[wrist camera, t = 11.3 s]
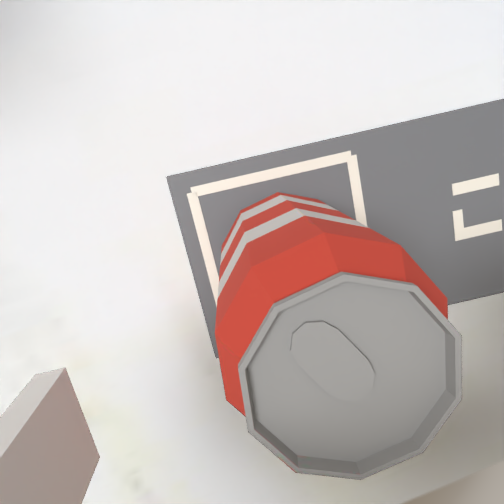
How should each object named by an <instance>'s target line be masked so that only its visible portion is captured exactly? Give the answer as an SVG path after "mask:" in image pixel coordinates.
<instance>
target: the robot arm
mask: <svg viewBox="0 0 504 504" xmlns="http://www.w3.org/2000/svg"><path fill="white" fill-rule="evenodd" d="M99 458H100V456H99V454H98V451H97V448H96V446H95V443H94V441H93V438H92V435H91V433H90V430H89V428H88V425H87V422H86V420H85V417H84V415H83V412H82V410H81V407H80V404H79V402H78V399H77V397H76V394H75V391H74V389H73V386H72V384H71V381H70V378H69V376H68V373H67V371H66V368H61V369H57V370H53V371H49V372H44V373H40V374H36V375H35V376H34V377H33V378H32V379H31V380H30V382H29V383H28V384H27V385H26V386H25V388H24V389H23V390H22V391H21V392H20V394H19V395H18V396H17V397H16V398H15V400H14V401H13V402H12V403H11V405H10V406H9V407H8V408H7V409H6V411H5V412H4V413H3V414H2V415H1V417H0V504H82V501H83V499H84V496H85V494H86V491H87V489H88V486H89V484H90V481H91V478H92V476H93V473H94V471H95V468H96V466H97V463H98V461H99Z"/></svg>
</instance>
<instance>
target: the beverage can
mask: <svg viewBox="0 0 504 504" xmlns="http://www.w3.org/2000/svg"><path fill="white" fill-rule="evenodd" d="M215 338H216V343H217V349H218V355H219V361H220V366H221V372H222V378H223V384H224V389H225V395H226V400H227V401H228V402H229V403H230V404H232V405H233V406H234V407H235V408H236V409H237V410H238V411H240V412H241V413H242V414H243V415H244V416H245V417H246V421H247V427H248V432H249V433H250V434H251V435H252V436H254V437H255V438H256V439H257V440H258V441H259V442H261V443H262V444H263V445H264V446H265V447H266V448H268V449H269V450H270V451H271V452H272V453H273V454H275V455H276V456H277V457H278V458H279V459H280V460H281V461H283V462H284V463H285V464H286V465H287V466H288V467H290V468H291V469H292V470H293V471H294V472H295V473H304V474H313V475H322V476H331V477H340V478H349V479H359V480H361V479H364V478H366V477H368V476H371V475H373V474H375V473H377V472H380V471H382V470H384V469H387V468H389V467H391V466H394V465H396V464H398V463H400V462H403V461H405V460H407V459H410V458H412V457H414V456H416V455H419V454H421V453H423V452H424V451H425V449H426V448H427V446H428V445H429V444H430V442H431V441H432V439H433V438H434V437H435V435H436V434H437V433H438V431H439V430H440V428H441V427H442V426H443V424H444V423H445V422H446V420H447V419H448V417H449V416H450V415H451V413H452V412H453V411H454V409H455V408H456V406H457V405H458V404H459V402H460V401H461V399H462V335H461V334H460V333H459V332H458V331H457V330H456V329H455V328H454V326H453V325H452V324H451V323H450V322H449V321H448V307H447V297H446V296H445V295H444V294H443V293H442V292H441V291H440V289H439V288H438V287H437V286H436V285H435V284H434V283H433V281H432V280H431V279H430V278H429V277H428V276H427V275H426V274H425V272H424V271H423V270H422V269H421V268H420V267H419V266H418V264H417V263H416V262H415V261H414V260H413V259H412V258H411V257H410V255H409V254H408V253H407V252H406V251H405V250H404V249H403V247H402V246H401V245H399V244H397V243H395V242H394V241H392V240H390V239H388V238H386V237H385V236H383V235H381V234H379V233H377V232H376V231H374V230H372V229H370V228H368V227H367V226H365V225H363V224H361V223H359V222H358V221H356V220H354V219H352V218H350V217H349V216H347V215H345V214H343V213H341V212H340V211H338V210H336V209H334V208H332V207H331V206H329V205H327V204H325V203H323V202H322V201H320V200H318V199H313V198H308V197H302V196H297V195H291V194H285V193H280V192H277V193H275V194H273V195H271V196H269V197H267V198H265V199H263V200H261V201H259V202H256V203H254V204H252V205H250V206H248V207H246V208H244V209H242V210H240V212H239V214H238V216H237V218H236V220H235V222H234V224H233V225H232V227H231V229H230V231H229V233H228V235H227V237H226V239H225V241H224V242H223V244H222V249H221V261H220V273H219V286H218V298H217V311H216V323H215Z"/></svg>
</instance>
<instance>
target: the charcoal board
mask: <svg viewBox="0 0 504 504" xmlns="http://www.w3.org/2000/svg"><path fill="white" fill-rule="evenodd" d="M166 178H167V181H168V185H169V189H170V192H171V196H172V200H173V203H174V207H175V211H176V214H177V218H178V222H179V225H180V229H181V233H182V236H183V240H184V243H185V247H186V251H187V254H188V258H189V262H190V265H191V269H192V273H193V276H194V280H195V284H196V287H197V291H198V295H199V298H200V302H201V305H202V309H203V313H204V316H205V320H206V324H207V327H208V331H209V335H210V338H211V342H212V346H213V349H214V353H215V357H216V358H219V355H218V349H217V343H216V338H215V323H216V311H217V298H218V286H219V273H220V261H221V249H222V244H223V242H224V241H225V239H226V237H227V235H228V233H229V231H230V229H231V227H232V225H233V224H234V222H235V220H236V218H237V216H238V214H239V212H240V210H242V209H244V208H246V207H248V206H250V205H252V204H254V203H256V202H259V201H261V200H263V199H265V198H267V197H269V196H271V195H273V194H275V193H277V192H280V193H285V194H291V195H297V196H302V197H308V198H313V199H318V200H320V201H322V202H323V203H325V204H327V205H329V206H331V207H332V208H334V209H336V210H338V211H340V212H341V213H343V214H345V215H347V216H349V217H350V218H352V219H354V220H356V221H358V222H359V223H361V224H363V225H365V226H367V227H368V228H370V229H372V230H374V231H376V232H377V233H379V234H381V235H383V236H385V237H386V238H388V239H390V240H392V241H394V242H395V243H397V244H399V245H401V246H402V247H403V249H404V250H405V251H406V252H407V253H408V254H409V255H410V257H411V258H412V259H413V260H414V261H415V262H416V263H417V264H418V266H419V267H420V268H421V269H422V270H423V271H424V272H425V274H426V275H427V276H428V277H429V278H430V279H431V280H432V281H433V283H434V284H435V285H436V286H437V287H438V288H439V289H440V291H441V292H442V293H443V294H444V295H445V296H446V297H447V305H450V304H455V303H459V302H463V301H468V300H472V299H476V298H481V297H485V296H490V295H494V294H498V293H503V292H504V99H501V100H497V101H492V102H488V103H484V104H479V105H475V106H471V107H466V108H462V109H458V110H453V111H449V112H445V113H440V114H436V115H432V116H427V117H423V118H419V119H414V120H410V121H406V122H401V123H397V124H393V125H388V126H384V127H380V128H375V129H371V130H367V131H362V132H358V133H354V134H349V135H345V136H341V137H336V138H332V139H328V140H323V141H319V142H315V143H310V144H306V145H302V146H297V147H293V148H289V149H284V150H280V151H276V152H271V153H267V154H263V155H258V156H254V157H250V158H245V159H241V160H237V161H232V162H228V163H224V164H219V165H215V166H211V167H206V168H202V169H198V170H193V171H189V172H185V173H180V174H176V175H172V176H167V177H166Z"/></svg>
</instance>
